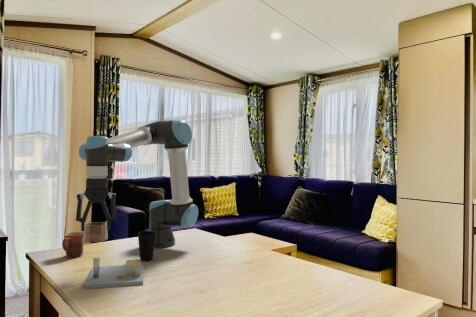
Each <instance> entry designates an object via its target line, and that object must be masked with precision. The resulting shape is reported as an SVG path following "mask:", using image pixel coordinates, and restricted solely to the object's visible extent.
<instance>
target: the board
mask: <svg viewBox="0 0 476 317" xmlns="http://www.w3.org/2000/svg"><path fill="white" fill-rule="evenodd" d="M125 265H126V264H124V265H121V264H120V265H109V266H108V265H107V266H99V278H93V267H92V268H91V271H90V272H89V274H88V276H87V277H86V280H85V282H84V284H83V290H86V289H99V288H100V289H101V288H113V287H114V288H115V287H125V286H128V287H129V286H140V285H142V286H143V285H144V276H145V275H144V273H145V272H144V271H145V264H144V263H141V276H139V277H135V267H134V268H125ZM117 274H125V278H121V279H117Z"/></svg>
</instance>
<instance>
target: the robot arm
mask: <svg viewBox="0 0 476 317" xmlns="http://www.w3.org/2000/svg"><path fill="white" fill-rule="evenodd" d="M192 139H193V132H192V129H191V126H190V124H189V123H188V122H187V121H185V120H180V119H179V120H177V119H175V120H158V121H155V122H150V123H147V124H144V125H140V126H139V127H138V128H137V129H135V130H132V131H128V132H126V133H122V134H119V135H115V136H112V137H109V138H108V137H107V136H106V135H105V136H102V135H89V136H87V138H86V143H82V144H81V145H80V146H79V148H78V154H79V158H80V159H82V160H83V161H85V162H86V163H85V165H86V166H85V177H87V178H85V190H84V192H82V193H77V194H76V199H77V204H76V205H77V206H76V215H75V221H76V222H79V223H80V224H81V226H80V228H81V231H80V232H84V238H83V242H84V241H85V242H86V225H87V224H88V223H89V221H87V218H88V215H89V213H90V211H91V210H90V209H91V208H92V204H94V203H95V204H97V203H98V204H99V203H100V205H101V207H102V210H103V213H104V216H105V219H106V220H105V221H104V222H105V241H107V240H108V238H109V233H108V232H109V231H111V229H112V222H113V221H115V220H116V218H117V211H116V210H117V209H116V195H117V193H116V192H115V193H113V192H110V191H109V190H108V184H109V183H108V180H109V179H108V178H107V177H108V174H109V173H108V170H109V169H108V168H109V167H108V166H109V162H110V163H111V162H112V163H113V162H114V163H115V162H118V163H123V162H128V161H129V160H131V159H132V156H133V149H134V148H136V147H139V146H140V147H141V146H146V147H147V146H149V145H163V147H164V150H166V151H167V156H168V167H169V175H170V186H171V187H170V188H171V189H170V190H171V199H163V200H156V201H151V202H150V204H149V210H148V211H149V213H148V214H149V215H148V216H149V220H148V221H149V222H148V223H149V224H148V225H149V227H148V228H149V229H148V231H153V232H155V243H154V248H158V249H159V248H168V247H172V246H174V245H175V244H176V238H175V236H174V232H173V227H178V228H191V227H193V226H194V225H195V224H196V222H197V221H198V216H199V208H198V206H197V205H196V204H194V201H193V200H194V199H193V198H191V196H190V189H189V188H190V186H189V177H188V166H187V154H186V150H187V149H188V148H189V144H190V143H191V142H192ZM108 196H109V197H108ZM107 197H108V198H109V199H110V207H111V214H110V211H109V209H108V207H107V204H106V203H107V202H106V199H107ZM85 198H86V199H87V200H88V201H87V204H86V207H85V210H84V212H83V215H82V208H83V200H84V199H85Z"/></svg>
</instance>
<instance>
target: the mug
mask: <svg viewBox="0 0 476 317" xmlns="http://www.w3.org/2000/svg"><path fill="white" fill-rule="evenodd" d="M63 236H64V238H63V239H62V242H61V247H62V249H63V251H64V252H65V256H66V257H67V258H69V259H70V258H71V259H73V258H75V259H76V258H79V257H81V256H83V253H84V231H72V232H66V233H64V235H63Z"/></svg>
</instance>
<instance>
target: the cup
mask: <svg viewBox="0 0 476 317" xmlns="http://www.w3.org/2000/svg"><path fill="white" fill-rule="evenodd" d="M137 240H138V249H139V259H141V262H151V261H153V259H154V251H155V247H154V243H155V232H153V231H149V230H145V231H139V232H138V233H137Z"/></svg>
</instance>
